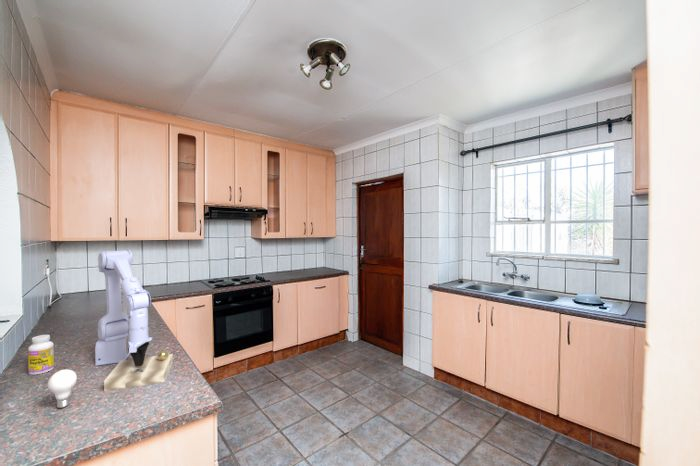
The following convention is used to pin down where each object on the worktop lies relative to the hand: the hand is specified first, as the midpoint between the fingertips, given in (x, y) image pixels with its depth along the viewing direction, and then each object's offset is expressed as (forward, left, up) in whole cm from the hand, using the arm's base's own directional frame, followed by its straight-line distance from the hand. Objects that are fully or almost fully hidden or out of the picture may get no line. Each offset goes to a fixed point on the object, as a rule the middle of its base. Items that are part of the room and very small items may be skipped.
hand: (139, 365), depth 109 cm
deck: (0, +1, -4) cm, 4 cm away
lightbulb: (-16, -13, -4) cm, 21 cm away
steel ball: (0, -1, -3) cm, 3 cm away
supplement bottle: (-35, +18, -4) cm, 40 cm away
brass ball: (+6, +4, +1) cm, 8 cm away
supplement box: (-25, +84, -5) cm, 88 cm away
